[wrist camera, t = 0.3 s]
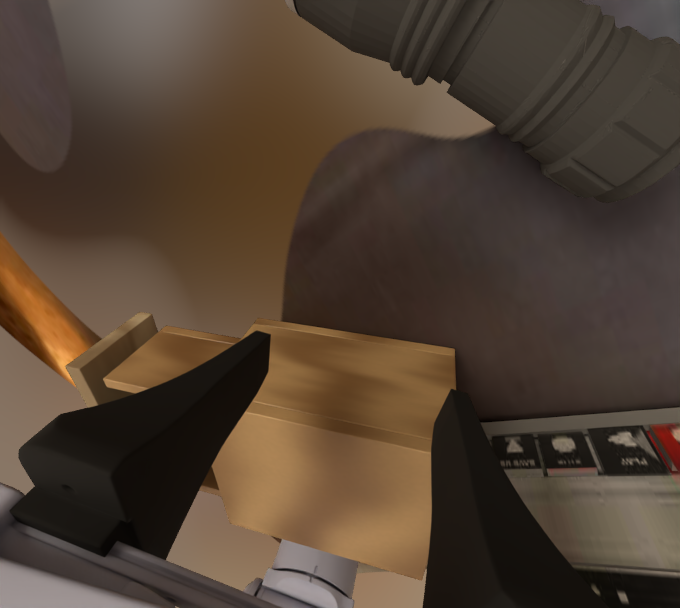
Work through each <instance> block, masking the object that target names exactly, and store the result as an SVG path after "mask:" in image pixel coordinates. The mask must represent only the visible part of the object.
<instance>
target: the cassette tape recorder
mask: <svg viewBox="0 0 680 608" xmlns="http://www.w3.org/2000/svg"><path fill="white" fill-rule="evenodd" d="M481 425H482V428H483V430H484V432H485V434H486V436H487V438H488V440H489V442H490V444H491V446H492V448H493V450H494V452H495V454H496V456H497V458H498V460H499V462H500V464H501V466H502V467H503V469H504V471H505V473H506V475H507V476H508V478H509V480H510V481H511V483H512V485H513V486H514V488H515V490H516V491H517V493H518V494H519V496H520V497H521V499H522V501H523V502H524V504H525V505H526V507H527V508H528V509H529V511H530V512H531V514H532V515H533V517H534V518H535V519H536V521H537V522H538V523H539V525H540V526H541V527H542V529H543V530H544V531H545V533H546V534H547V535H548V537H549V538H550V539H551V541H552V542H553V543H554V545H555V546H556V547H557V548H558V550H559V551H560V552H561V553H562V555H563V556H564V557H565V558H566V559H567V561H568V562H569V563H570V564H571V565H572V567H573V568H574V569H575V570H576V572H577V573H578V574H579V575H580V576H581V577H582V578H583V579H584V581H585V582H586V583H587V584H588V585H589V586H590V587H591V588H592V589H593V591H594V592H595V593H596V594H597V595H598V596H599V597H600V598H601V599H602V600H603V602H604V603H605V604H606V605H607V606H608V607H609V608H680V407H678V408H665V409H652V410H639V411H627V412H614V413H601V414H588V415H576V416H563V417H550V418H537V419H525V420H512V421H499V422H486V423H483V422H481Z"/></svg>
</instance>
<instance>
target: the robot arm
mask: <svg viewBox="0 0 680 608" xmlns="http://www.w3.org/2000/svg"><path fill="white" fill-rule="evenodd" d="M270 341H271V334H268V333H264V332H261V331H258V330H256V331H254V332H253V333H251V334H250V335H248V336H247V337H245V338H244V339H242V340H241V341H239V342H237V343H236V344H234V345H233V346H231V347H230V348H228V349H226V350H225V351H223V352H222V353H220V354H218V355H217V356H215V357H213V358H212V359H210V360H208V361H206V362H205V363H203V364H201V365H199V366H197V367H195V368H194V369H192V370H190V371H188V372H186V373H184V374H182V375H180V376H178V377H175V378H173V379H171V380H169V381H167V382H164V383H162V384H159V385H157V386H154V387H152V388H149V389H146V390H144V391H141V392H138V393H136V394H133V395H130V396H127V397H124V398H121V399H117V400H114V401H111V402H107V403H104V404H100V405H97V406H93V407H89V408H84V409H80V410H76V411H72V412H68V413H63V414H60V415H59V416H58V417H56V418H55V419H54V420H53V421H51V422H50V423H49V424H48V425H47V426H45V427H44V428H43V429H42V430H41V431H39V432H38V433H37V434H36V435H35V436H33V437H32V438H31V439H30V440H29V441H28V442H26V443H25V444H24V445H23V446H22V447H21V448H20V449H19V460H20V462H21V464H22V466H23V467H24V469H25V470H26V472H27V474H28V476H29V477H30V479H31V480H32V482H33V483H34V485H35V487H34V488H33V489H32V490H30V491H29V492H28V493H27V494H26V495H24V494H23V493H22V492H20V491H19V490H17V489H15V488H13V487H10V486H8V485H5V484H3V483H0V608H175V606H177V607H179V608H353V607H354V600H353V599H352V594H353V589H354V583H355V578H356V572H357V567H358V561H354V560H351V559H348V558H344V557H341V556H337V555H334V554H331V553H327V552H324V551H321V550H317V549H314V548H311V547H307V546H304V545H301V544H297V543H294V542H291V541H287V540H284V539H282V541H281V544H280V546H279V549H278V552H277V555H276V558H275V560H274V563H273V566H272V569H271V568H268V569H267V572H266V574H265V577H264V580H263V579H261V578H256V579H255V580H254V581H253V582H251V583H250V584H248V585H247V586H246V588H245V589H244V591H240V590H238V589H235V588H233V587H230V586H228V585H225V584H223V583H220V582H218V581H216V580H213V579H211V578H208V577H206V576H203V575H201V574H198V573H196V572H193V571H191V570H188V569H186V568H183V567H181V566H178V565H176V564H173V563H170V562H168V561H166V558H167V556H168V553H169V551H170V549H171V547H172V545H173V543H174V541H175V538H176V536H177V534H178V532H179V530H180V528H181V526H182V523H183V521H184V519H185V517H186V515H187V513H188V511H189V509H190V507H191V505H192V503H193V501H194V499H195V497H196V495H197V493H198V491H199V489H200V487H201V485H202V483H203V481H204V480H205V478H206V476H207V474H208V472H209V470H210V468H211V466H212V464H213V462H214V461H215V459H216V457H217V455H218V453H219V451H220V450H221V448H222V446H223V445H224V443H225V441H226V440H227V438H228V437H229V435H230V434H231V432H232V431H233V429H234V428H235V426H236V425H237V423H238V422H239V420H240V419H241V417H242V416H243V414H244V413H245V411H246V410H247V408H248V407H249V405H250V404H251V402H252V401H253V399H254V398H255V396H256V395H257V393H258V391H259V389H260V388H261V386H262V384H263V382H264V380H265V378H266V376H267V373H268V371H269V357H270ZM431 497H432V514H431V532H430V543H429V555H428V565H427V575H426V584H425V593H424V601H423V608H609V607H608V606H607V605H606V604H605V603H604V602H603V600H602V599H601V598H600V597H599V596H598V595H597V594H596V593H595V592H594V591H593V589H592V588H591V587H590V586H589V585H588V584H587V583H586V582H585V581H584V579H583V578H582V577H581V576H580V575H579V574H578V573H577V572H576V570H575V569H574V568H573V567H572V565H571V564H570V563H569V562H568V561H567V559H566V558H565V557H564V556H563V555H562V553H561V552H560V551H559V550H558V548H557V547H556V546H555V545H554V543H553V542H552V541H551V539H550V538H549V537H548V535H547V534H546V533H545V531H544V530H543V529H542V527H541V526H540V525H539V523H538V522H537V521H536V519H535V518H534V517H533V515H532V514H531V512H530V511H529V509H528V508H527V507H526V505H525V504H524V502H523V501H522V499H521V497H520V496H519V494H518V493H517V491H516V490H515V488H514V486H513V485H512V483H511V481H510V480H509V478H508V476H507V475H506V473H505V471H504V469H503V467H502V466H501V464H500V462H499V460H498V458H497V456H496V454H495V452H494V450H493V448H492V446H491V444H490V442H489V440H488V438H487V436H486V434H485V432H484V430H483V428H482V425H481V423H480V421H479V419H478V416H477V414H476V412H475V409H474V407H473V404H472V402H471V400H470V397H469V395H468V393H464V392H461V391H458V390H454V389H451V390H450V392H449V394H448V396H447V398H446V400H445V402H444V404H443V406H442V408H441V410H440V412H439V414H438V416H437V418H436V420H435V422H434V427H433V435H432V445H431Z"/></svg>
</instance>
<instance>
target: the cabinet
mask: <svg viewBox="0 0 680 608" xmlns="http://www.w3.org/2000/svg"><path fill="white" fill-rule="evenodd" d="M256 330H258V331H261V332H264V333H268V334H271V341H270V357H269V371H268V373H267V376H266V378H265V380H264V382H263V384H262V386H261V388H260V389H259V391H258V393H257V395H256V396H255V398H254V399H253V401H252V402H251V404H250V405H249V407H248V408H247V410H246V411H245V413H244V414H243V416H242V417H241V419H240V420H239V422H238V423H237V425H236V426H235V428H234V429H233V431H232V432H231V434H230V435H229V437H228V438H227V440H226V441H225V443H224V445H223V446H222V448H221V450H220V451H219V453H218V455H217V457H216V459H215V461H214V462H213V464H212V468H213V472H214V475H215V478H216V481H217V484H218V487H219V490H220V494H221V497H222V500H223V503H224V506H225V509H226V512H227V515H228V519H229V522H230V523H231V524H234V525H237V526H241V527H244V528H247V529H251V530H254V531H257V532H260V533H264V534H267V535H271V536H274V537H277V538H281V539H284V540H287V541H291V542H294V543H297V544H301V545H304V546H307V547H311V548H314V549H317V550H321V551H324V552H327V553H331V554H334V555H337V556H341V557H344V558H348V559H351V560H354V561H358V562H361V563H364V564H368V565H371V566H374V567H378V568H381V569H384V570H388V571H391V572H395V573H398V574H401V575H404V576H408V577H411V578H415V579H418V580H422V578H423V575H424V572H425V569H426V565H427V562H428V555H429V543H430V532H431V514H432V497H431V445H432V435H433V427H434V422H435V420H436V418H437V416H438V414H439V412H440V410H441V408H442V406H443V404H444V402H445V400H446V398H447V396H448V394H449V392H450V390H451V389H454V390H456V372H455V349H454V348H447V347H441V346H434V345H428V344H422V343H415V342H409V341H403V340H396V339H390V338H384V337H377V336H371V335H364V334H358V333H352V332H345V331H339V330H333V329H326V328H320V327H314V326H307V325H301V324H295V323H288V322H282V321H275V320H268V319H263V318H258V319H257V320H256V321H255V322H254V324H253V325H252V326H251V327H250V329H249V330H248V331H247V332H246V333H245V335H244V336H243V337H242V338H241V340H242V339H244V338H245V337H247V336H248V335H250V334H251V333H253V332H254V331H256ZM241 340H240V341H241Z"/></svg>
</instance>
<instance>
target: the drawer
mask: <svg viewBox="0 0 680 608" xmlns="http://www.w3.org/2000/svg"><path fill="white" fill-rule="evenodd" d="M240 340H241V338H235V337H229V336H223V335H217V334H212V333H205V332H200V331H194V330H188V329H183V328H177V327H171V326H165V327H164V328H163V329H161V330H160V332H158V331H157V328H156V325H155V322H154V319H153V316H152V314H149V313H143V312H139V313H138V314H136V315H135V316H134V317H132V318H131V319H129V320H128V321H127V322H125V323H124V324H123V325H121V326H120V327H118V328H117V329H116V330H114V331H113V332H112V333H111V334H109V335H107V336H106V337H105V338H103V339H102V340H101V341H99V342H98V343H96V344H95V345H94V346H92V347H91V348H90V349H88V350H87V351H85V352H84V353H83V354H81V355H80V356H79V357H77V358H76V359H74V360H73V361H72V362H70V363H69V364H68V365H66V366H65V367H66V369H67V371H68V372H69V374H70V376H71V378H72V380H73V381H74V383H75V385H76V387H77V389H78V390H79V392H80V394H81V396H82V398H83V400H84V401H85V403H86V405H87V407H88V408H89V407H93V406H97V405H100V404H104V403H107V402H111V401H114V400H117V399H121V398H124V397H127V396H130V395H133V394H136V393H138V392H141V391H144V390H146V389H149V388H152V387H154V386H157V385H159V384H162V383H164V382H167V381H169V380H171V379H173V378H175V377H178V376H180V375H182V374H184V373H186V372H188V371H190V370H192V369H194V368H195V367H197V366H199V365H201V364H203V363H205V362H206V361H208V360H210V359H212V358H213V357H215V356H217V355H218V354H220V353H222V352H223V351H225V350H226V349H228V348H230V347H231V346H233V345H234V344H236V343H237V342H239V341H240ZM199 490H200V491H204V492H207V493H211V494H215V495H218V496H221V494H220V490H219V487H218V484H217V481H216V478H215V475H214V472H213V468H212V466H211V468H210V470H209V472H208V474H207V476H206V478H205V480H204V481H203V483H202V485H201V487H200V489H199Z"/></svg>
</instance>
